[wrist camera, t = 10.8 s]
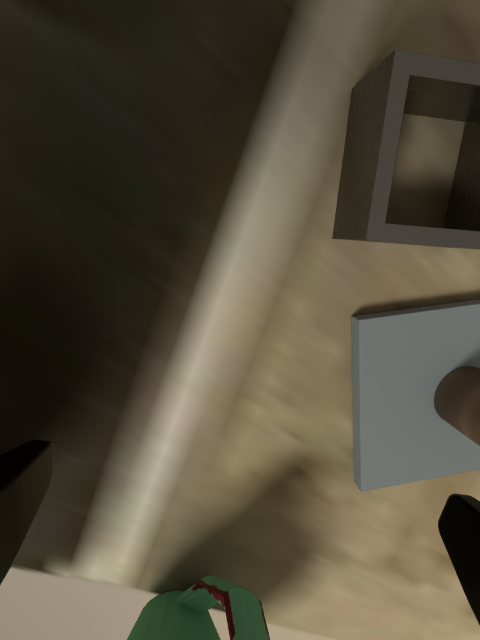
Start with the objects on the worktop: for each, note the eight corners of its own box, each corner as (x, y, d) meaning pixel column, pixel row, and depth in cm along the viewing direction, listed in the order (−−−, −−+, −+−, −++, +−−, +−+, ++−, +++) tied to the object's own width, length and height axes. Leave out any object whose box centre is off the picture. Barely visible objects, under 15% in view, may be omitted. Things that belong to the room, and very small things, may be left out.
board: (354, 481, 24) (360, 491, 23) (351, 316, 21) (358, 320, 20) (534, 448, 26) (547, 456, 25) (556, 288, 22) (572, 291, 21)
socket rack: (332, 238, 20) (365, 240, 16) (352, 88, 18) (395, 49, 14) (452, 247, 21) (510, 251, 17) (482, 107, 19) (555, 75, 15)
